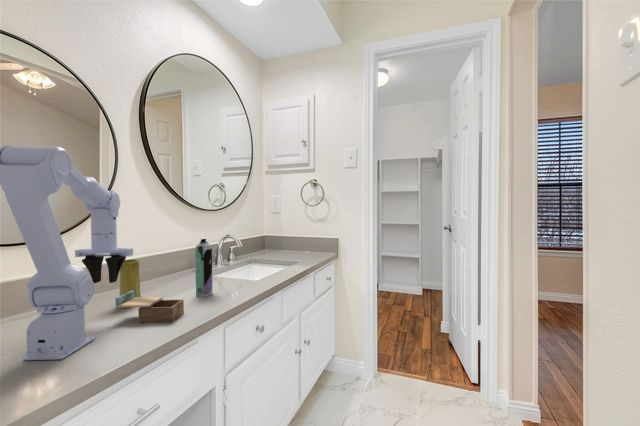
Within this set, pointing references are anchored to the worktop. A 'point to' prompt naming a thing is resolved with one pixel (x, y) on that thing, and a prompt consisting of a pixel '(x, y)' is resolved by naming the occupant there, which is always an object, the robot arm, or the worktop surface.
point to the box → (161, 311)
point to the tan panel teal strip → (135, 300)
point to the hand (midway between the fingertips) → (105, 282)
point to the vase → (130, 277)
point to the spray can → (203, 269)
